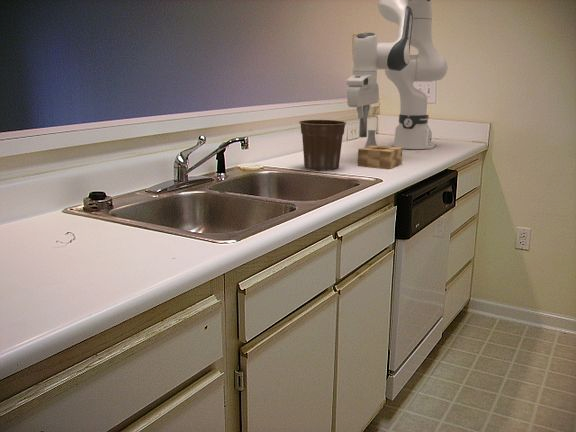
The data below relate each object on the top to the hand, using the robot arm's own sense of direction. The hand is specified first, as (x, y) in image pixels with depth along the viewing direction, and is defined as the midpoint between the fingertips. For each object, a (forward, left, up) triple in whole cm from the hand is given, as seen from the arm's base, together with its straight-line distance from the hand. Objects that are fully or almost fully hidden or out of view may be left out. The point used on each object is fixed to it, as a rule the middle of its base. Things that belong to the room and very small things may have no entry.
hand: (363, 117), depth 212 cm
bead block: (+7, +10, -16) cm, 20 cm away
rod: (0, 0, -7) cm, 7 cm away
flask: (-12, -2, -16) cm, 21 cm away
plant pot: (+23, -5, -16) cm, 28 cm away
